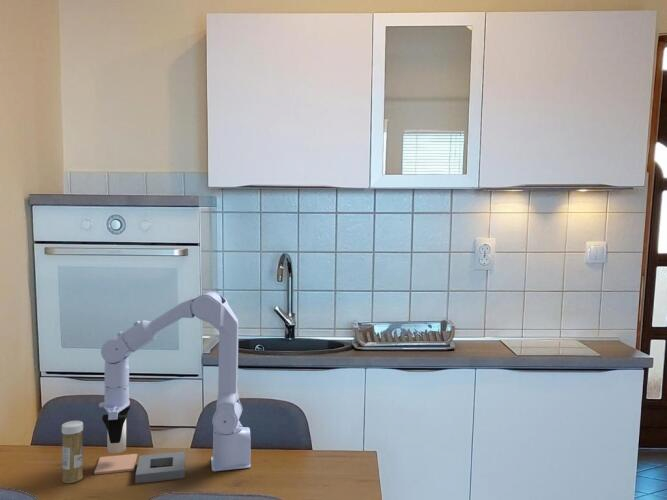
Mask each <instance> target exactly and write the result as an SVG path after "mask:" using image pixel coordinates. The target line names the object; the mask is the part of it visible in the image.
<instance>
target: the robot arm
mask: <svg viewBox="0 0 667 500" xmlns="http://www.w3.org/2000/svg"><path fill="white" fill-rule="evenodd" d="M183 318H186V319H193V318H197V319H198V320H200V321H202V322H203V321H204V322H206V323H209V324H210V325H211V326H212V327H214V329H216V330H217V331H218V378H217V379H218V383H217V384H218V386H217V387H218V388H217V390H218V391H217V399H216V408H215V412H214V414H213V416H212V420H211V421H212V422H211V423H212V426H213V429H212V438H213V439H212V456H211V457H210V466H211V471H212V472H220V471H222V472H223V471H230V470H238V469H239V470H240V469H249V468H250V469H251V463H252V462H251V456H252V450H251V447H252V446H251V445H252V444H251V443H252V440H251V429H250V427H248V426H245V427H244V426H243V424H242V423H241V421H240V417H241V416H242V413H243V406H242V403H241V401H240V394H239V390H238V389H239V388H238V384H239V383H238V382H239V381H238V380H239V377H238V375H239V328H240V327H239V320H238V318H237V316H236V314H235V312H233V310H232V308H231V307H230V305H229V302H228V301H227V298H225V297H224V296H222V295H221V294H220V293H219V292H218V291H215V290H208V291H204V292H203V293H202V294H200V295H196V296H194V297H191V298H189V299H187V300H184V301H183V302H180V303H179V304H177V305H176V306H173V307H172V308H171V309H169V310H167V311H166V312H164V313H163V314H161V315H160V316H158V317H156V318H154V319H153V320H152V321H150V320H146V319H143V320H137V321H135V322H133V326H131V327H129V328H128V329H126V330H124V331H122V330H121V331H119V332H118V333H116V335H117V336H115V337H113V338H110V339H108V340H107V341H106V342H105V343H104V344H103V345H102V347H101V349H100V354H101V357H102V359H103V360H104V398H103V399H104V401H103V402H102V401H101V402H100V403H99V404H98V405H99V408H103V409H104V410H106V412H107V414H103V415H102V417H101V418H102V419H101V420H102V422H103V423H104V424H105V427H106V429H107V430H108V434H109V439H110V442H111V443H120V440H121V435H122V429H123V424H124V422H125V420H126V421H127V417H128V416H129V415H128V413H129V411H130V409H131V401H130V356H131V354H132V353H135V352H137V351H139V350H140V349H142V348H143V347H146V345H149V344H150V343H151V342H154V341H155V340H156V339H157V335H158V332H160V331H162V330H164V329H165V328H168V327H169V326H170V325H172V324H174V323H177V322H178V321H179V320H181V319H183ZM107 430H106V431H107Z"/></svg>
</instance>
